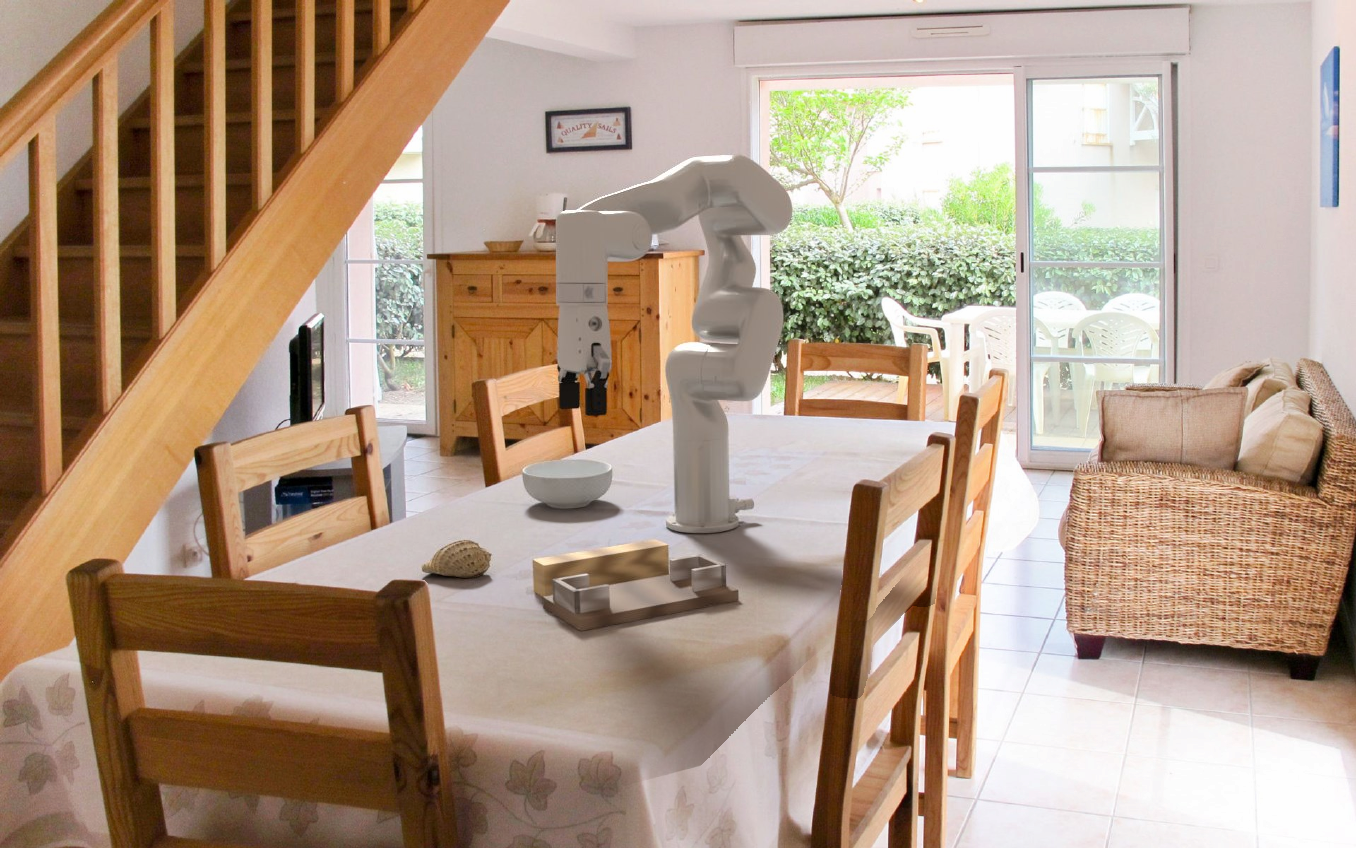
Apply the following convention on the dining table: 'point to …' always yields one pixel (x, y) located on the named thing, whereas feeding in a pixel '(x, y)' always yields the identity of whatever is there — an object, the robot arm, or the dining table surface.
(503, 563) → the dining table surface
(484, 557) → the seashell
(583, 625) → the endcap base
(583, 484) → the cereal bowl
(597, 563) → the slat
